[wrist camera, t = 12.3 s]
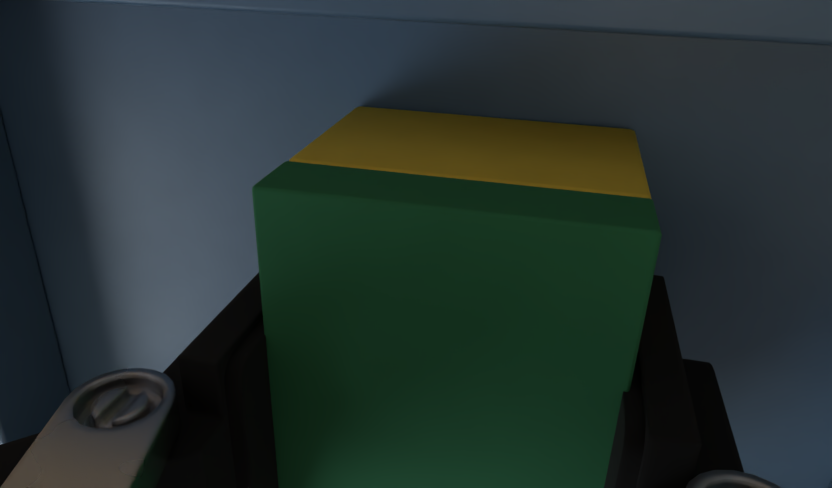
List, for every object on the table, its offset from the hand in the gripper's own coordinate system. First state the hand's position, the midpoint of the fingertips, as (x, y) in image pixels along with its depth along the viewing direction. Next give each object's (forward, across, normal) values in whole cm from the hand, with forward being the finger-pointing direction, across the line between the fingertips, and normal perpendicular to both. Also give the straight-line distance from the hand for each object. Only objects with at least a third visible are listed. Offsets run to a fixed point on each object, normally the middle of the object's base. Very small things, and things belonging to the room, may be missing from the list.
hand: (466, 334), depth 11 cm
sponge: (+1, 0, 0) cm, 1 cm away
